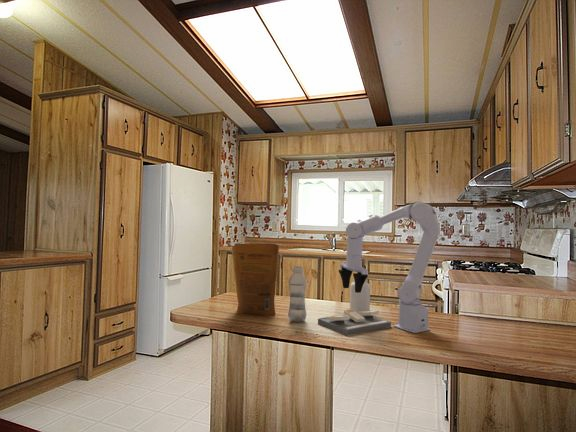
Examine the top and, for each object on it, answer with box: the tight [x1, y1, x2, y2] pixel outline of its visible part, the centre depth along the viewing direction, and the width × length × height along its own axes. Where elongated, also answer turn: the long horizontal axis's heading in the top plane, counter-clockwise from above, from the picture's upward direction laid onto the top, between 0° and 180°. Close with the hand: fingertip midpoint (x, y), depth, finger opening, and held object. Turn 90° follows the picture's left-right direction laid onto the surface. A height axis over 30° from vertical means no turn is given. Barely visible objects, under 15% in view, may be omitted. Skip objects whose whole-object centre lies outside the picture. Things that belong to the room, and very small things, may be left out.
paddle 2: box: [358, 310, 380, 316], centre depth 136 cm, size 7×4×1 cm, turn 32°
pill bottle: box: [349, 278, 371, 312], centre depth 151 cm, size 8×8×15 cm
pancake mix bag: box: [231, 242, 280, 316], centre depth 147 cm, size 7×19×28 cm, turn 73°
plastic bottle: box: [287, 266, 307, 323], centre depth 136 cm, size 6×7×20 cm
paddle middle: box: [343, 308, 365, 323], centre depth 132 cm, size 7×4×1 cm, turn 32°
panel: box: [317, 312, 392, 336], centre depth 132 cm, size 16×20×3 cm
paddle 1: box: [328, 314, 350, 320], centre depth 128 cm, size 7×4×1 cm, turn 32°
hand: (351, 290), depth 141 cm, fingers open, 7 cm apart
